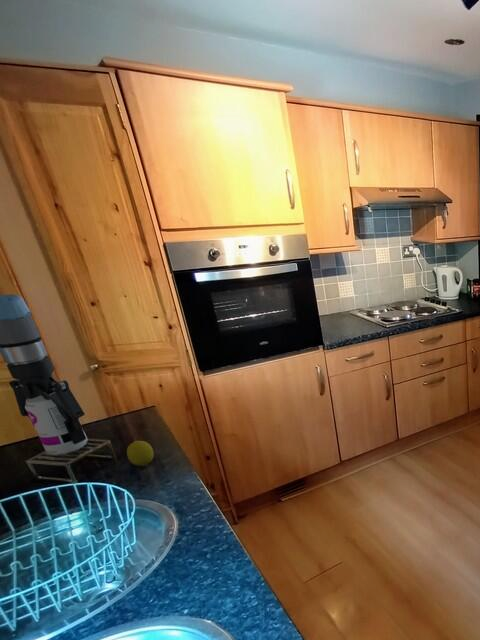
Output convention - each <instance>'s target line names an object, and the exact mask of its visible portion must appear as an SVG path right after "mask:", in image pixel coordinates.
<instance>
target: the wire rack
mask: <svg viewBox="0 0 480 640" xmlns="http://www.w3.org/2000/svg"><path fill="white" fill-rule="evenodd" d="M87 439H88V440H87V442H86V444H85V445H84V446H83V447H81V448H80V449H77V450H75V451H72V452H69V453H65V454H58V455H55V454H51V453H47V452H46V451H45V450H44V451H42V452H40V453H39V454H37V455H34V456H32V457H31V458H29V459H26V460H25V461H24V462H25V464H27V466H28V468H29V470H30V472H31V473H32V476H33V478H34V479H35V481H36V482H37V481H51V482H62V483H63V482H64V483H72V484H73V483H76V484H78V483H79V479H78V477H77V476H76V473H75V472H74V469H73V466H72V464H74V463H76V462H78V461H83V460H84V459H85V458H93V459H94V458H95V459H107V460H112V462H113V464H117V463H119V459H118V457H117V455H116V452H115V450H114V446H113V445H112V440H111V439H99V438H87ZM105 446H106V447H107V450H108V453H109V455H101V454H92V453H94V452H96V451H98V450H100V449H101V448H103V447H105ZM36 465H48V466H59V467H65V469H66V472H67V473H68V475H69V477H70V478H61V477H52V476H51V477H50V476H49V477H48V476H41V475H40V473H39V471H38V469H37V467H36Z"/></svg>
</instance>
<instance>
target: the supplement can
mask: <svg viewBox="0 0 480 640" xmlns="http://www.w3.org/2000/svg"><path fill="white" fill-rule="evenodd" d="M54 393H55V391H54V392H53V393H51V394H54ZM51 394H49V395H51ZM25 409H26V411H27V413H28V415H29V417H30V418H29V417H28V418H29V419H30V421H31V424H32V426H33V428H34V430H35V432H36V434H37V435H38V438H39V440H40V443H41V444H42V446H43V448H44V451H46V452H47V453H51V454H55V455H58V454H65V453H66V454H70V453H69V452H72V451H75V450H77V449H80V448H81V447H85V446H84V445H85V444H86V443H88V442H87V440H88V439H89V438H88V436H87V435H86V432H85V430H84V427H83V425H82V423H81V421H80V419H79V421H80V424H81V426H82V430H83V432H84V435H85V437H86V439H85V440H83V441H81V442H79V443H77V444H73V442H72V439H71V437H70V435H69V433H68V431H67V428H66V426H65V424H64V421H66V420H65V418H64V417H63V416H62V415H61V414H60V413H59V411H58V408H57V406H56V405H55V403H54V402H53V401H52V400H51V399H50V400H46V399H44V398H43V397H42V396H41V395H40V396H38V397H35V398H33V399H29V398H28V399H26V404H25ZM69 416H70V415H69ZM80 450H81V449H80Z"/></svg>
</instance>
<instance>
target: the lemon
mask: <svg viewBox="0 0 480 640" xmlns="http://www.w3.org/2000/svg"><path fill="white" fill-rule="evenodd" d="M154 455H155V454H154V449H153V447H152V445H151V444H150V443H148V442H147V441H145V440H134V441H133V442H132V443H130V444H129V445H128V446H127V449H126V456H127V459H128V461H129V462H130V463H131V464H133V465H134V466H142V467H146V466H147V465H148V464H149V463H151V462H152V460H153V459H154Z"/></svg>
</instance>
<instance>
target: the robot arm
mask: <svg viewBox="0 0 480 640" xmlns="http://www.w3.org/2000/svg"><path fill="white" fill-rule="evenodd" d="M0 355H1V358H2V360H3V362H4V363H6V364H7V365H6V367H7V370H8V371H9V374H10V376H11V377H12V379H14V380H10V381H9V382H8V384H9V386H10V387H11V389H12V391H13V393H14V397H15V401H16V404H17V407H18V410H19V412H20V415H21V416H22V417H27V418H28V419H30V417H29V415H28V413H27V411H26V409H25V404H26V399H28V398H29V399H33V398H35V397H38V396H40V395H41V396H42V397H43V398H44V399H46V400H50V399H51V400H52V401H53V402H54V403H55V405H56V406H57V408H58V411H59V413H60V414H61V415H62V416H63V417H64V418H65V420H66V421H64V424H65V426H66V428H67V431H68V433H69V435H70V437H71V439H72V442H73V444H77V443H79V442H81V441H83V440H85V439H86V437H87V436H86V437H85V435H84V432H85V431H84V432H83V430H84V429H83V430H82V427H83V425H82V423H81V421H79V420H80V418H81V417H83V416H85V415H86V414H85V411H83V408H82V407H81V405H80V404H79V402H78V400H77V399H76V397H75V396H74V393H73V392H72V390H71V388H70V385H69V382H68V381H67V380H61V381H59V380H57V379H56V378H55V377H54V376H53V372H54V371H55V367H54V364H53V362H52V359H51V357H49V356H48V351H47V348H46V347H45V344H44V342H43V339H42V337H41V334H40V332H39V330H38V327H37V325H36V323H35V320H34V318H33V315H32V313H31V309H30V308H29V307H28V305H27V303H26V301H25V300H24V298H23V297H22V296H21V295H18V294H14V293H13V294H11V293H10V294H4V293H3V294H0ZM54 391H55V393H54V394H51V393H53V392H54ZM49 394H51V395H49ZM69 415H70V416H69ZM80 423H81V424H80ZM81 425H82V426H81Z"/></svg>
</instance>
